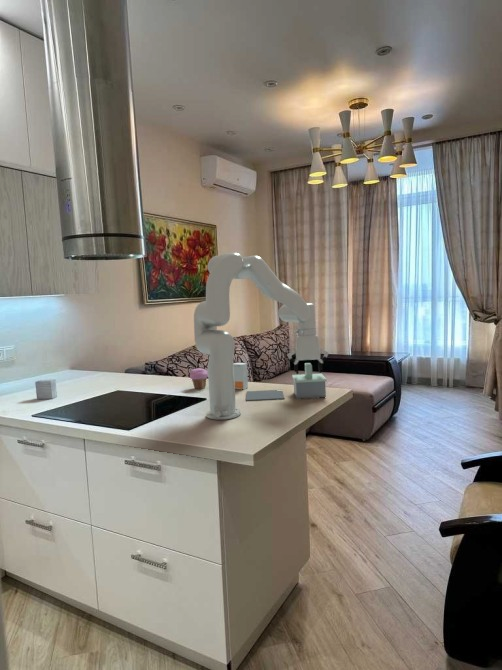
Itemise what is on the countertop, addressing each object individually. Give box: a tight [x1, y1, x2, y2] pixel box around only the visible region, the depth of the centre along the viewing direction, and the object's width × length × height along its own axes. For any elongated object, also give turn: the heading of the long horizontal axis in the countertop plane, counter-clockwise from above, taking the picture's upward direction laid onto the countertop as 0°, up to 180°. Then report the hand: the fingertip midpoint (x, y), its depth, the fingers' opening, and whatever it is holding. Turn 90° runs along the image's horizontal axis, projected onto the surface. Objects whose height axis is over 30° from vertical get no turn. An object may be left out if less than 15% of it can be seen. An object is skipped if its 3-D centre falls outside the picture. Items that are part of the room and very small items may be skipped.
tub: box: [293, 381, 327, 400], centre depth 187 cm, size 12×12×7 cm
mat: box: [245, 389, 285, 402], centre depth 191 cm, size 16×16×1 cm
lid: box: [291, 362, 328, 383], centre depth 187 cm, size 13×13×7 cm
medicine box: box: [34, 378, 58, 400], centre depth 209 cm, size 8×4×9 cm, turn 84°
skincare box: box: [233, 362, 249, 390], centre depth 207 cm, size 6×4×12 cm
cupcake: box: [189, 367, 208, 390], centre depth 213 cm, size 9×9×10 cm
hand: (308, 372), depth 187 cm, fingers open, 9 cm apart
